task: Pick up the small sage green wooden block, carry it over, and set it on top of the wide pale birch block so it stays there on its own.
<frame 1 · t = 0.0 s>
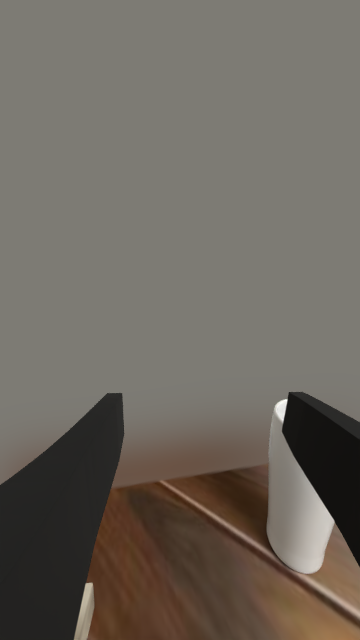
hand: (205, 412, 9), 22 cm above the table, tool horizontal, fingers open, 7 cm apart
drinking glass: (292, 545, 23), on the table
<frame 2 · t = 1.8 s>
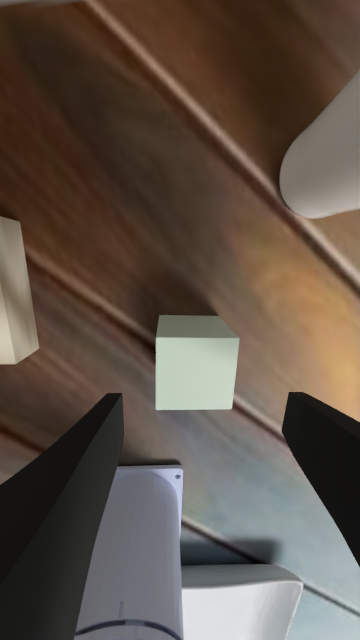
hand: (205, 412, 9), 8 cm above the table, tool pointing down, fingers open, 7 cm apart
sage block: (188, 343, 17), on the table
salad plate: (192, 600, 27), on the table
drinking glass: (312, 178, 14), on the table
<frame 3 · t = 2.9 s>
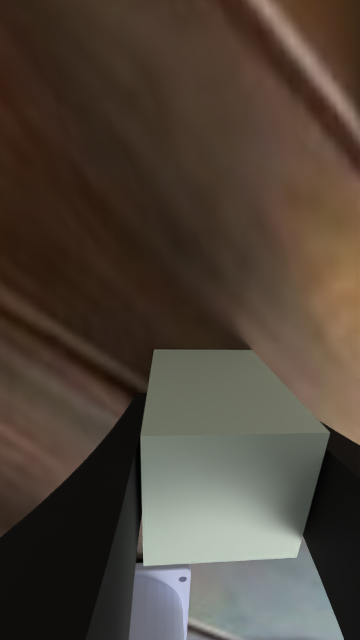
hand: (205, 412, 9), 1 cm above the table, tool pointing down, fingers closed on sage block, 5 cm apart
sage block: (200, 392, 10), on the table, touching gripper
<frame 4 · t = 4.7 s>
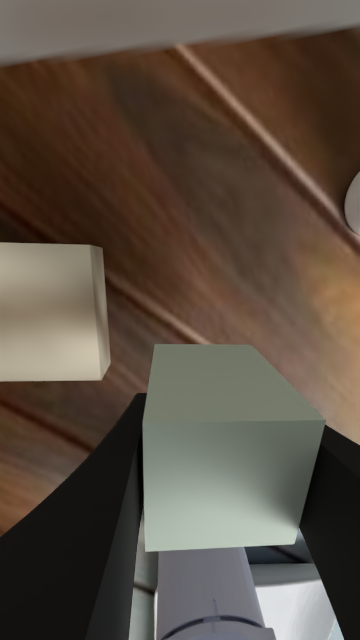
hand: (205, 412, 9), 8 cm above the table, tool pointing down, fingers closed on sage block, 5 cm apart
sage block: (201, 387, 11), point 7 cm above the table, touching gripper
salad plate: (235, 598, 28), on the table
birch base: (48, 308, 16), on the table
when the fingers open (6 cm above the table, at t = 6.3 s): sage block drops 1 cm, resting on birch base.
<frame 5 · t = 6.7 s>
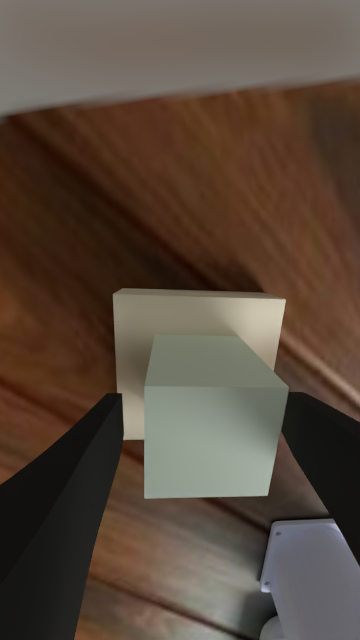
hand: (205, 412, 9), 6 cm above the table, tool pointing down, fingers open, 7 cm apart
sage block: (194, 373, 12), point 2 cm above the table, touching birch base
salad plate: (319, 639, 27), on the table
birch base: (190, 353, 15), on the table, touching sage block
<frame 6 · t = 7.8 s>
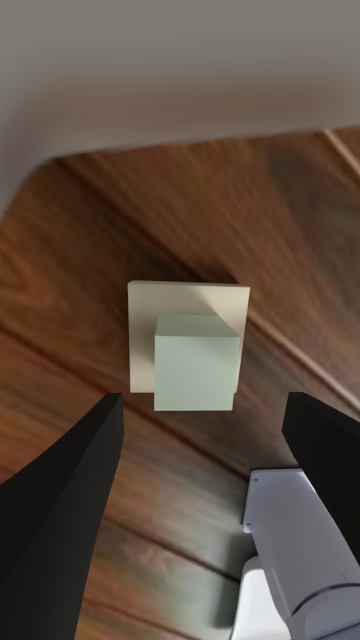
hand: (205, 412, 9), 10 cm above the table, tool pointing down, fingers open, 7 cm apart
sage block: (187, 343, 17), point 2 cm above the table, touching birch base
salad plate: (296, 583, 31), on the table
birch base: (184, 330, 20), on the table, touching sage block
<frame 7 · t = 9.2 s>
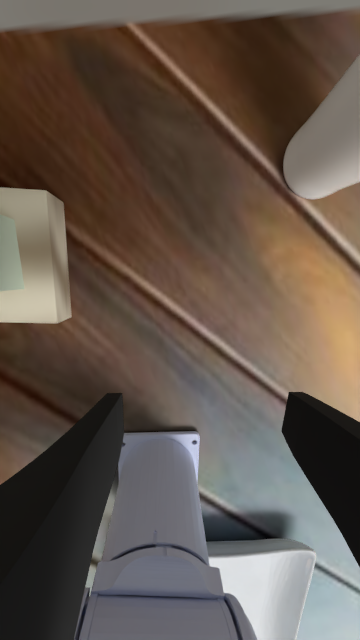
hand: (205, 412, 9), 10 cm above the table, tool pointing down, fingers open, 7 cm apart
salad plate: (205, 583, 27), on the table
drinking glass: (310, 166, 17), on the table
birch base: (14, 260, 18), on the table, touching sage block
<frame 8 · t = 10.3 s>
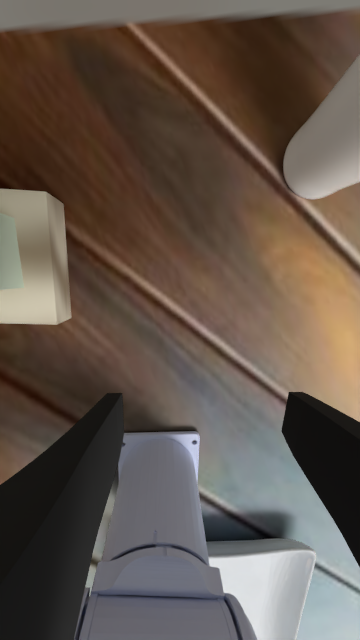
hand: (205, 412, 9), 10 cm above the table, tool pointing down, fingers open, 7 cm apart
salad plate: (205, 583, 27), on the table
drinking glass: (310, 166, 17), on the table
birch base: (14, 261, 17), on the table, touching sage block
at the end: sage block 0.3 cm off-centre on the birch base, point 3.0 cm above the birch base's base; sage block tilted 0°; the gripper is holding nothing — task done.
